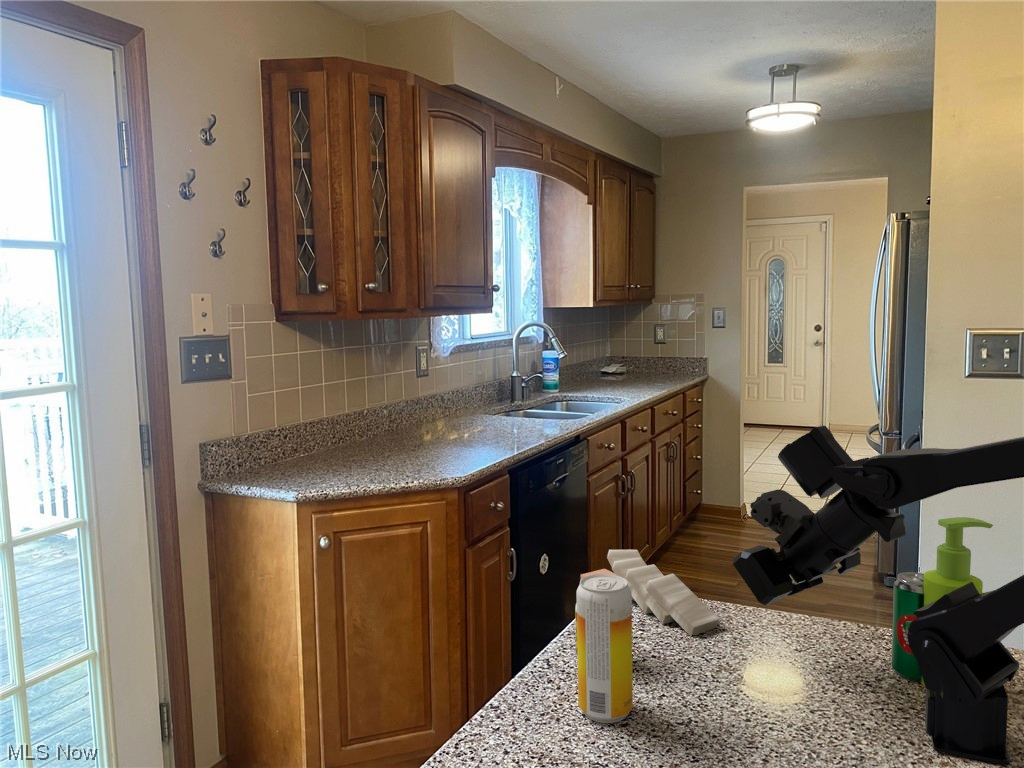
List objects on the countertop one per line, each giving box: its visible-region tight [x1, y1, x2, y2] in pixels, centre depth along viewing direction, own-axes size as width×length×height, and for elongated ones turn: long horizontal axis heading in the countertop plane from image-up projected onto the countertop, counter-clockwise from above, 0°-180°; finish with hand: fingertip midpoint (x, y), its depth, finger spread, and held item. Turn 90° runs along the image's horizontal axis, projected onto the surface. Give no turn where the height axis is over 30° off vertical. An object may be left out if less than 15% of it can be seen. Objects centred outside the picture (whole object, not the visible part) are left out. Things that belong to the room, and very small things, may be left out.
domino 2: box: [606, 549, 642, 601], centre depth 119 cm, size 2×5×10 cm
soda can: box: [891, 571, 924, 683], centre depth 90 cm, size 5×5×12 cm
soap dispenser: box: [920, 516, 994, 689], centre depth 87 cm, size 6×7×20 cm
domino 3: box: [611, 556, 654, 615], centre depth 115 cm, size 2×5×10 cm
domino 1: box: [580, 568, 615, 580], centre depth 122 cm, size 2×5×10 cm
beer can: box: [576, 574, 634, 724], centre depth 84 cm, size 6×6×15 cm
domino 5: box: [645, 573, 720, 637], centre depth 108 cm, size 2×5×10 cm
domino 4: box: [625, 564, 676, 625], centre depth 111 cm, size 2×5×10 cm
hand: (758, 595), depth 96 cm, fingers closed
